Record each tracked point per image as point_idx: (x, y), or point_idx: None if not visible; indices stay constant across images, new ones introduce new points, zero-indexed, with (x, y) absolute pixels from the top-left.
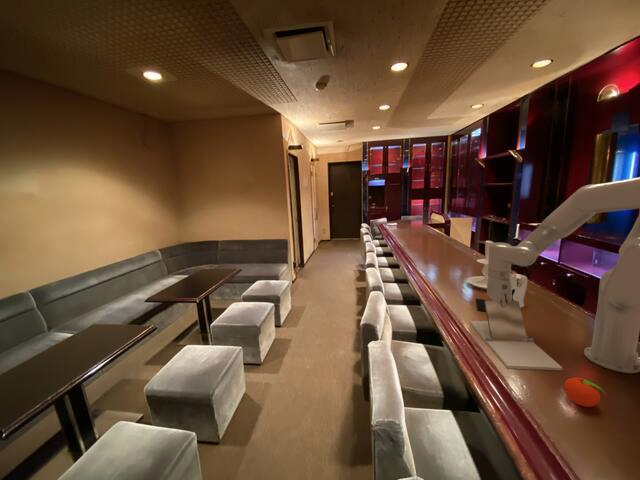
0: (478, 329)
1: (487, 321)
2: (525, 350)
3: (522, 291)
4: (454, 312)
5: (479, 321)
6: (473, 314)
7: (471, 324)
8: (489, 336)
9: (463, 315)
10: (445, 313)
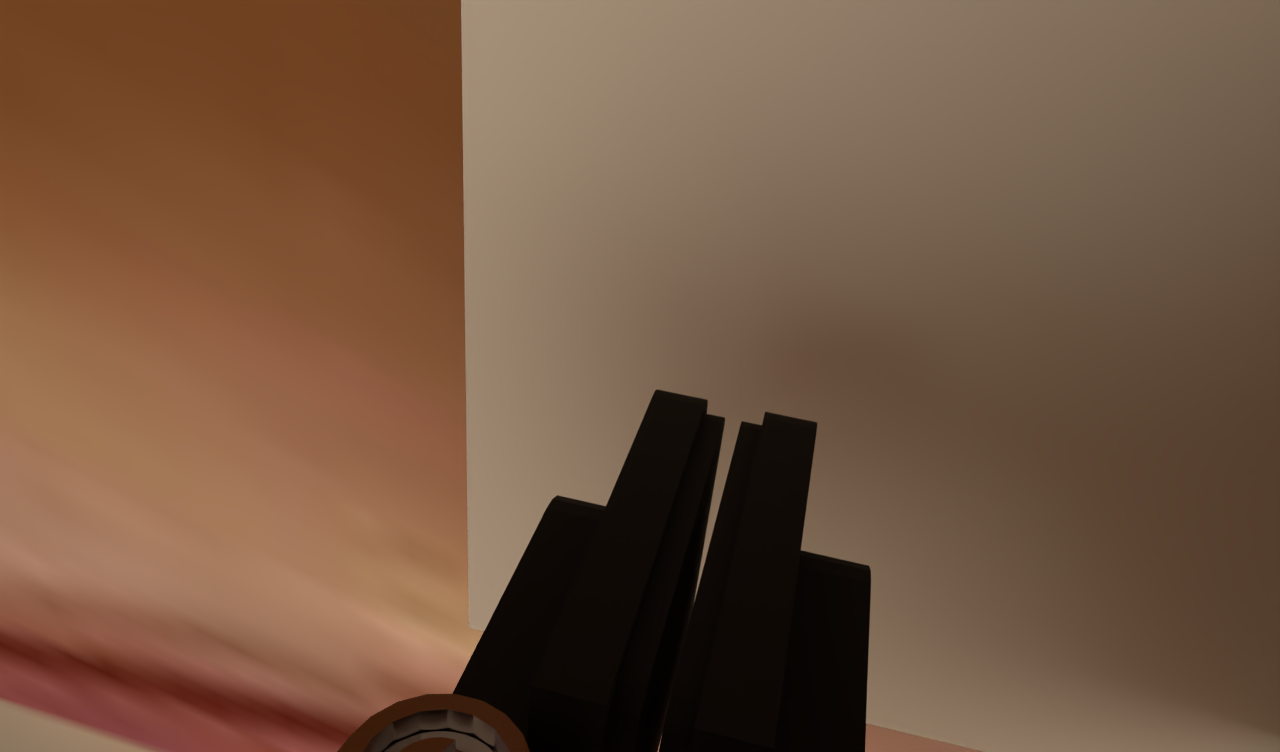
0: None
1: (474, 315)
2: None
3: None
4: (84, 583)
5: (480, 476)
6: (81, 312)
7: None
8: (1163, 693)
9: (175, 514)
10: (160, 717)
